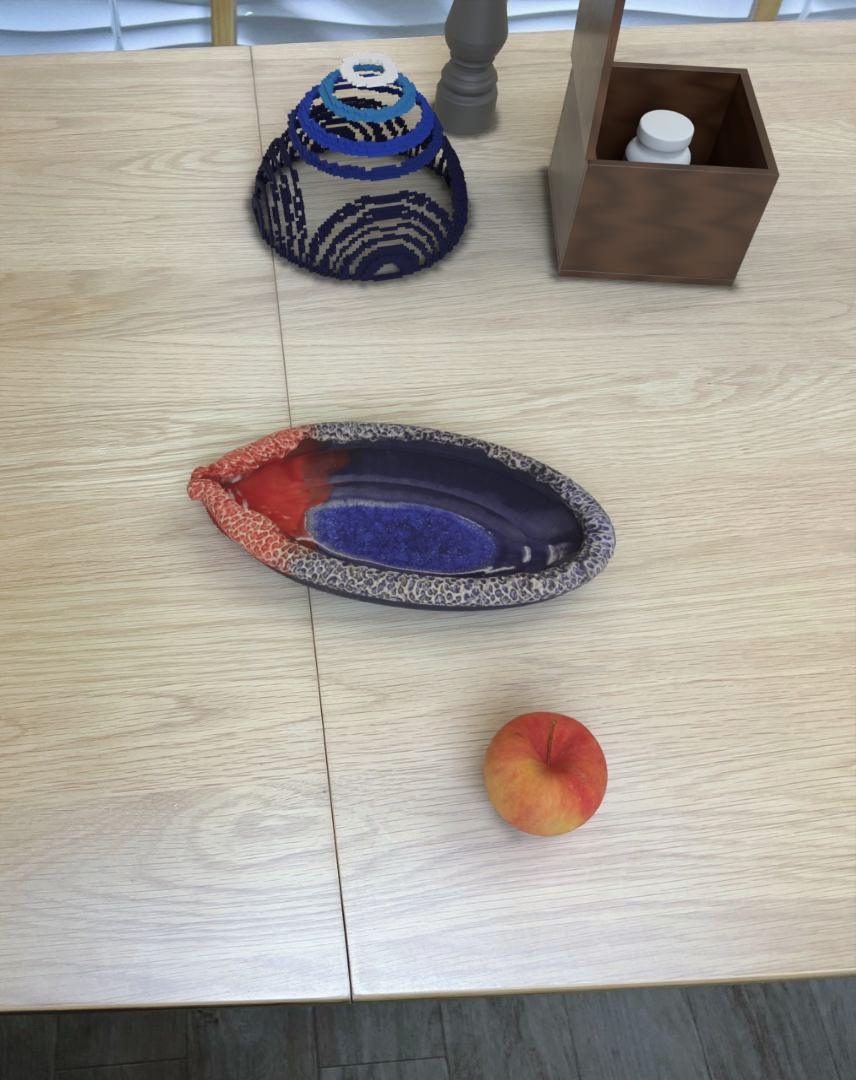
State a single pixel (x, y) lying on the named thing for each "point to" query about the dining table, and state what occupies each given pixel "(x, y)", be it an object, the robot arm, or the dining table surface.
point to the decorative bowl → (363, 173)
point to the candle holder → (471, 65)
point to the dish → (407, 516)
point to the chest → (662, 180)
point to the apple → (545, 773)
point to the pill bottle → (661, 139)
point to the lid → (594, 63)
